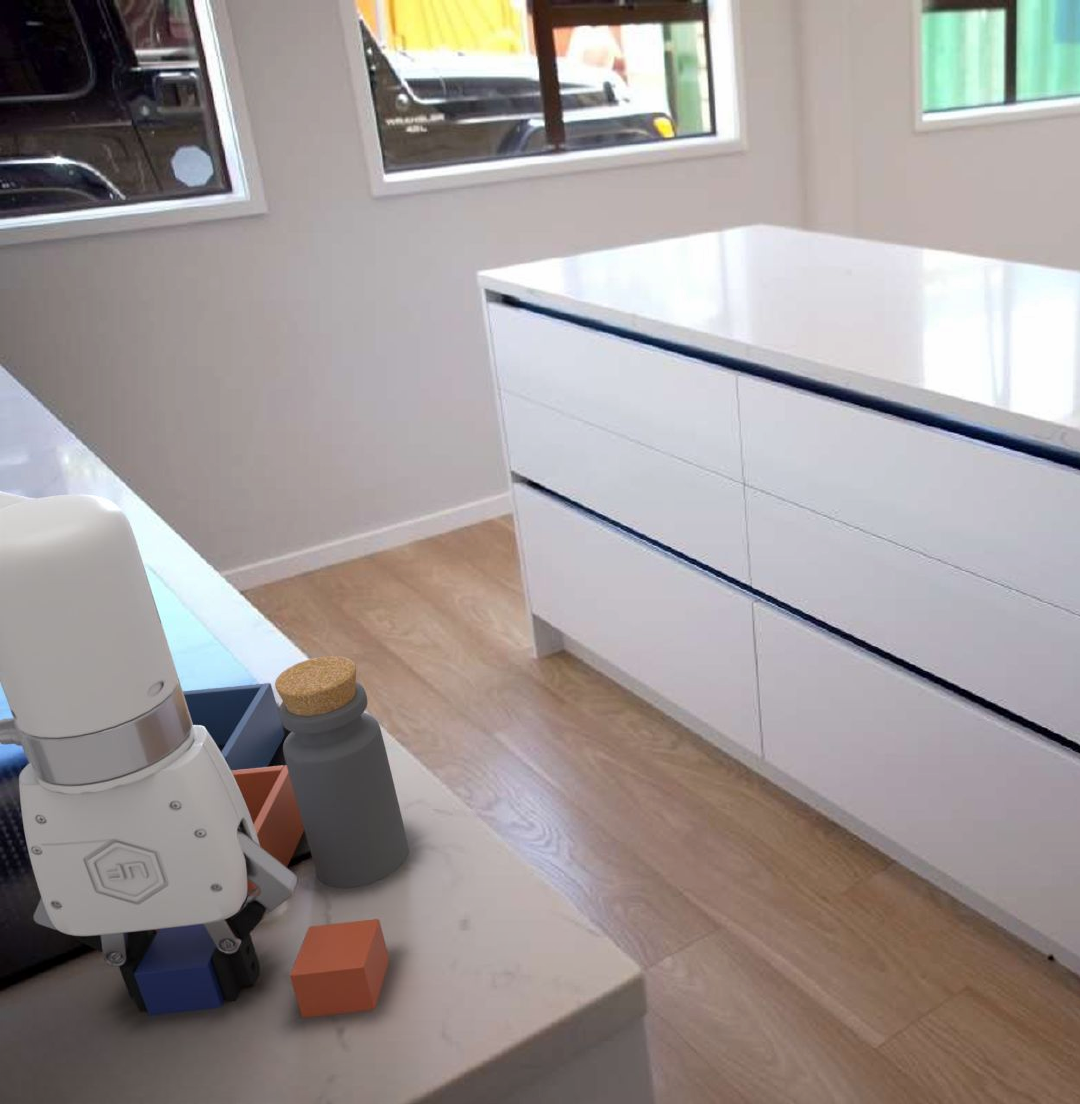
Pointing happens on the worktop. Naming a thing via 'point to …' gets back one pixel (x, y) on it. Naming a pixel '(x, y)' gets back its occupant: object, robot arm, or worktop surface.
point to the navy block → (179, 972)
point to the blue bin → (239, 722)
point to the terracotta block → (340, 968)
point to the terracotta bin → (271, 811)
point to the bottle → (340, 774)
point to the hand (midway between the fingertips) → (200, 994)
